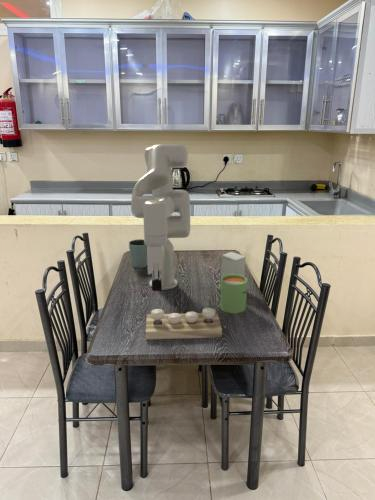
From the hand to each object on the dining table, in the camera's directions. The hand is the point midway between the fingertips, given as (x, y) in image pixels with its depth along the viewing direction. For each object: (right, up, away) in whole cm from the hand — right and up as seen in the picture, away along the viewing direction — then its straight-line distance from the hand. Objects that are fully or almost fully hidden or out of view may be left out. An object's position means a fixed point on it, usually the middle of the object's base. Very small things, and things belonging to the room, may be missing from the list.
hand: (156, 289), depth 135 cm
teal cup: (-14, +6, +65) cm, 67 cm away
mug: (+29, -9, +23) cm, 38 cm away
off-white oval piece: (0, -13, +5) cm, 14 cm away
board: (+9, -15, +6) cm, 18 cm away
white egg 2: (+12, -14, +6) cm, 19 cm away
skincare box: (+30, -4, +39) cm, 49 cm away
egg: (+18, -12, +6) cm, 23 cm away
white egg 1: (+6, -14, +6) cm, 17 cm away
